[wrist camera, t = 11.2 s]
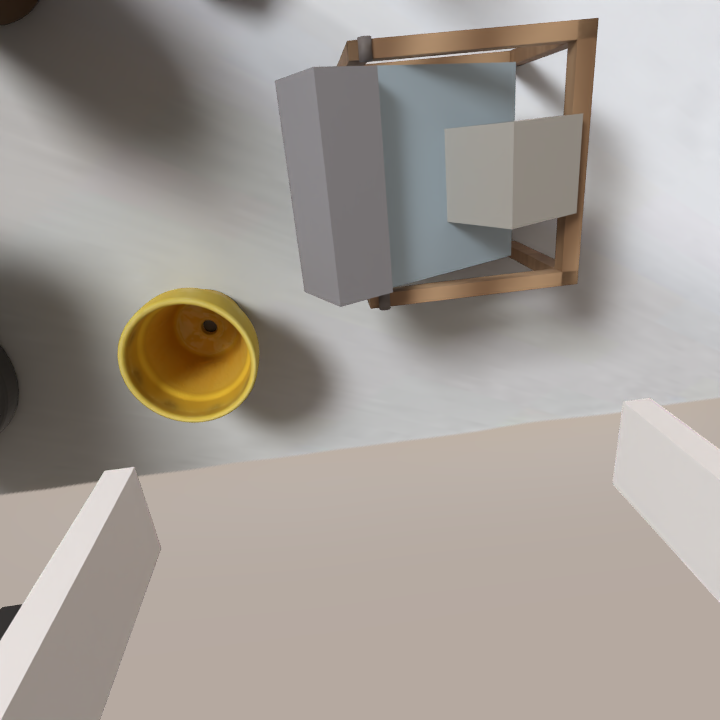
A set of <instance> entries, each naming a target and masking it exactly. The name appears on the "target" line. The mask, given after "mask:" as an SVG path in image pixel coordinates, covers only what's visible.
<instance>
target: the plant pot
mask: <svg viewBox="0 0 720 720" xmlns="http://www.w3.org/2000/svg"><path fill="white" fill-rule="evenodd" d="M206 320H211V321H213V322H214V323H215V324H216V325H217V329H216V330H215V331H214V332H208V331H206V330H205V329H204V326H203V323H204V322H205V321H206ZM118 364H119V369H120V372H121V375H122V377H123V380H124V382H125V384H126V385H127V387H128V388H129V390H130V391H131V393H132V394H133V395H134V396H135V397H136V398H137V399H138V400H139V401H140V402H141V403H142V404H143V405H145V406H146V407H147V408H149V409H150V410H152V411H153V412H155V413H157V414H159V415H161V416H164V417H166V418H169V419H172V420H177V421H182V422H192V423H193V422H205V421H210V420H214V419H217V418H220V417H222V416H224V415H226V414H229V413H230V412H232V411H233V410H235V409H236V408H237V407H238V406H240V405H241V404H242V403H243V401H244V400H245V399H246V398H247V397H248V395H249V394H250V392H251V390H252V388H253V386H254V383H255V380H256V377H257V372H258V366H259V343H258V338H257V335H256V332H255V329H254V327H253V325H252V323H251V322H250V320H249V319H248V317H247V316H246V315H245V313H244V312H243V311H242V310H241V309H240V308H239V306H238V305H237V304H236V303H235V302H234V301H233V300H232V299H231V298H230V297H228V296H227V295H225V294H223V293H221V292H218V291H215V290H208V289H198V288H180V289H175V290H171V291H167V292H165V293H162V294H160V295H158V296H156V297H155V298H153V299H152V300H150V301H149V302H148V303H146V304H145V305H144V306H143V307H142V308H140V309H139V310H138V311H137V312H136V313H135V314H134V316H133V317H132V318H131V319H130V320H129V322H128V323H127V324H126V326H125V328H124V330H123V332H122V334H121V337H120V340H119V344H118Z"/></svg>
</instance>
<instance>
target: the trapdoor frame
mask: <svg viewBox="0 0 720 720" xmlns="http://www.w3.org/2000/svg"><path fill="white" fill-rule="evenodd" d="M597 30H598V18H592V19H582V20H571V21H560V22H549V23H538V24H527V25H516V26H505V27H494V28H483V29H472V30H461V31H450V32H439V33H428V34H417V35H407V36H396V37H385V38H374V39H371V36H361V37H358V38H357V40H352V41H347V43H346V45H345V47H344V50H343V52H342V55H341V57H340V60H339V62H338V65H337V66H375V65H417V64H458V63H499V62H516V66H520V65H523V64H526V63H529V62H531V61H534V60H537V59H540V58H542V57H545V56H548V55H551V54H553V53H556V52H559V51H561V50H564V49H567V48H568V52H567V68H566V85H565V101H564V115H572V114H582V113H583V124H582V139H581V154H580V169H579V184H578V199H577V213H575V214H571V215H567V216H563V217H559V218H557V233H556V250H555V259H553V258H551V257H549V256H547V255H544V254H542V253H540V252H538V251H536V250H534V249H531V248H529V247H527V246H525V245H523V244H521V243H519V242H516V241H511V256H508V257H510V258H512V259H514V260H516V261H517V262H519V263H521V264H523V265H525V266H526V267H528V268H530V269H532V270H533V271H528V272H519V273H511V274H502V275H494V276H485V277H477V278H469V279H460V280H452V281H443V282H435V283H426V284H418V285H409V286H401V287H393V292H392V293H389V294H385V295H381V296H378V297H374V298H371V299H367V300H368V303H369V305H370V308H371V309H372V308H379V309H380V310H388V309H390V308H391V306H397V305H406V304H414V303H422V302H431V301H439V300H447V299H455V298H464V297H472V296H480V295H489V294H497V293H505V292H514V291H522V290H530V289H539V288H547V287H555V286H564V285H572V284H577V280H578V268H579V255H580V243H581V230H582V218H583V205H584V193H585V180H586V167H587V155H588V142H589V130H590V117H591V105H592V92H593V80H594V67H595V55H596V42H597ZM510 48H515V49H513V50H511V51H504V52H493V53H482V54H472V55H461V56H450V57H440V58H429V59H419V60H408V61H397V62H387V63H376V64H366V63H367V62H372V61H382V60H393V59H404V58H414V57H425V56H436V55H446V54H457V53H468V52H478V51H489V50H500V49H510Z"/></svg>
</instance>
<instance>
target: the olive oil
mask: <svg viewBox="0 0 720 720" xmlns="http://www.w3.org/2000/svg"><path fill="white" fill-rule="evenodd" d="M37 2H38V0H0V25H5V24H9V23H12V22H15V21H17V20H19V19H21V18H23V17H24V16H25V15H27V14H28V13H29V12H30V11H31V10H32V9H33V8H34V6H35V5H36V4H37Z"/></svg>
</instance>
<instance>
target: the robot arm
mask: <svg viewBox="0 0 720 720" xmlns="http://www.w3.org/2000/svg"><path fill="white" fill-rule="evenodd" d="M17 403H18V382H17V378H16V374H15V371H14V368H13V366H12V364H11V362H10V360H9V358H8V356H7V355H6V353H5V352H4V350H3V349H2V347H1V346H0V432H1V431H2V430H3V429H4V428H5V427H6V426H7V425H8V423H9V422H10V420H11V419H12V417H13V415H14V413H15V410H16V407H17ZM613 485H614V486H615V487H616V488H617V489H618V491H619V492H620V493H621V494H622V495H623V496H624V497H625V498H626V499H627V501H628V502H629V503H630V504H631V505H632V506H633V507H634V508H635V509H636V511H637V512H638V513H639V514H640V515H641V516H642V517H643V518H644V519H645V521H646V522H647V523H648V524H649V525H650V526H651V527H652V528H653V529H654V531H655V532H656V533H657V534H658V535H659V536H660V537H661V538H662V539H663V541H664V542H665V543H666V544H667V545H668V546H669V547H670V548H671V549H672V551H673V552H674V553H675V554H676V555H677V556H678V557H679V558H680V559H681V560H682V562H683V563H684V564H685V565H686V566H687V567H688V568H689V569H690V570H691V572H693V574H694V575H695V576H696V577H697V578H698V579H699V580H700V581H701V583H702V584H703V585H704V586H705V587H706V588H707V589H708V590H709V591H710V593H711V594H712V595H713V596H714V597H715V598H716V599H717V600H718V601H719V602H720V449H719V448H717V447H716V446H715V445H713V444H712V443H710V442H709V441H708V440H706V439H705V438H704V437H702V436H701V435H700V434H698V433H697V432H696V431H694V430H693V429H691V428H690V427H689V426H687V425H686V424H685V423H683V422H682V421H681V420H679V419H678V418H677V417H675V416H674V415H672V414H671V413H670V412H668V411H667V410H666V409H664V408H663V407H662V406H660V405H659V404H658V403H656V402H655V401H654V400H652V399H651V398H646V399H638V400H631V401H623V406H622V414H621V421H620V429H619V437H618V445H617V453H616V460H615V468H614V476H613ZM160 550H161V546H160V543H159V540H158V537H157V534H156V531H155V528H154V525H153V522H152V519H151V516H150V512H149V509H148V506H147V503H146V500H145V497H144V494H143V491H142V488H141V485H140V482H139V479H138V476H137V472H136V469H135V467H129V468H122V469H115V470H107V471H104V473H103V474H102V476H101V477H100V479H99V481H98V482H97V484H96V486H95V487H94V489H93V491H92V492H91V494H90V496H89V497H88V499H87V500H86V502H85V504H84V505H83V507H82V508H81V510H80V512H79V513H78V515H77V517H76V518H75V520H74V521H73V523H72V525H71V526H70V528H69V530H68V531H67V533H66V534H65V536H64V538H63V539H62V541H61V543H60V544H59V546H58V547H57V549H56V551H55V552H54V554H53V556H52V557H51V559H50V561H49V562H48V564H47V565H46V567H45V569H44V570H43V572H42V574H41V575H40V577H39V578H38V580H37V582H36V583H35V585H34V587H33V588H32V590H31V591H30V593H29V595H28V597H27V598H26V600H25V601H24V603H23V604H21V605H15V606H7V607H2V608H1V609H0V720H100V719H101V716H102V713H103V710H104V707H105V704H106V702H107V698H108V696H109V693H110V690H111V688H112V685H113V682H114V679H115V676H116V674H117V671H118V668H119V665H120V662H121V660H122V656H123V654H124V651H125V648H126V646H127V643H128V640H129V637H130V634H131V631H132V628H133V626H134V623H135V620H136V617H137V615H138V612H139V609H140V606H141V603H142V600H143V598H144V595H145V592H146V589H147V587H148V584H149V581H150V578H151V575H152V573H153V570H154V567H155V564H156V561H157V559H158V556H159V553H160Z"/></svg>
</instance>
